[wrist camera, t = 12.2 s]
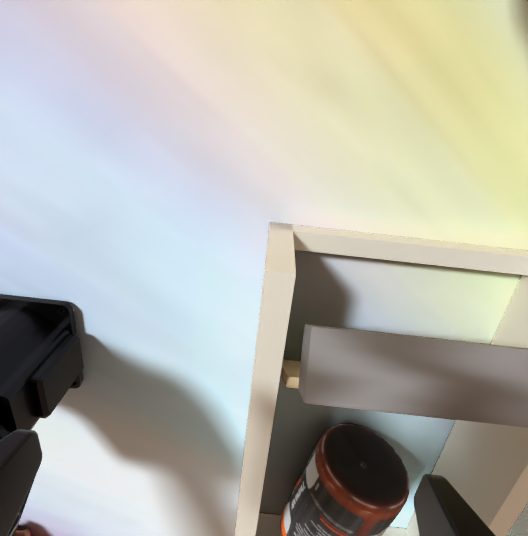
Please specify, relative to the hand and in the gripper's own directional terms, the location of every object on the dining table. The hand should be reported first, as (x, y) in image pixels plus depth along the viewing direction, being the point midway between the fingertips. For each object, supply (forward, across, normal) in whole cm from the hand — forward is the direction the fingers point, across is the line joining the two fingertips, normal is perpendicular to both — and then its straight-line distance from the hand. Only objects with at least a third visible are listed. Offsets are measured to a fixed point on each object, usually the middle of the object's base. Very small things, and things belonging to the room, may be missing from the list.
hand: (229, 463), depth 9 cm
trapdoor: (+11, -8, +3) cm, 14 cm away
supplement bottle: (+10, -8, +12) cm, 17 cm away
